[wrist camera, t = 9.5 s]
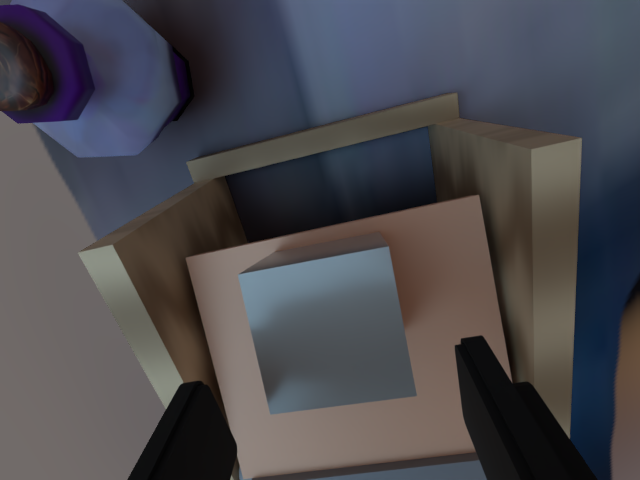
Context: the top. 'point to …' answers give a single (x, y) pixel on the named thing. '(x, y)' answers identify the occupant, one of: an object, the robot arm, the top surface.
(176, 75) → the potion bottle
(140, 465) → the robot arm
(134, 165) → the top surface
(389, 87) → the top surface
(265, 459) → the trapdoor
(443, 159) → the frame
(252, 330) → the cube
